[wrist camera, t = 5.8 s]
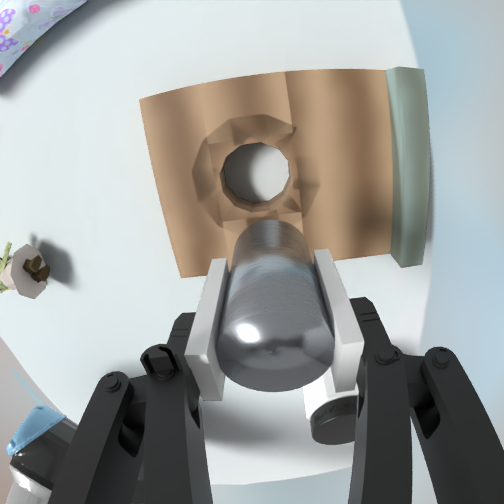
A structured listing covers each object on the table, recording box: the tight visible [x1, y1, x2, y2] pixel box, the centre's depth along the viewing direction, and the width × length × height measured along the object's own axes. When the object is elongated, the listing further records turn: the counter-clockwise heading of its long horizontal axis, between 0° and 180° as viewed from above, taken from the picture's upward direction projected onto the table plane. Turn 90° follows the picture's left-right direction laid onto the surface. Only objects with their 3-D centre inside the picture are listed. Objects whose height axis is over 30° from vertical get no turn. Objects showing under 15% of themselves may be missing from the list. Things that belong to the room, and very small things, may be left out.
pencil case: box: [0, 0, 87, 77], centre depth 15 cm, size 21×9×10 cm, turn 112°
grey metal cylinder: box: [216, 220, 335, 392], centre depth 14 cm, size 4×4×8 cm
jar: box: [303, 367, 359, 445], centre depth 34 cm, size 9×8×12 cm
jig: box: [139, 67, 430, 278], centre depth 25 cm, size 24×18×6 cm
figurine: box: [0, 242, 50, 299], centre depth 31 cm, size 9×7×15 cm
